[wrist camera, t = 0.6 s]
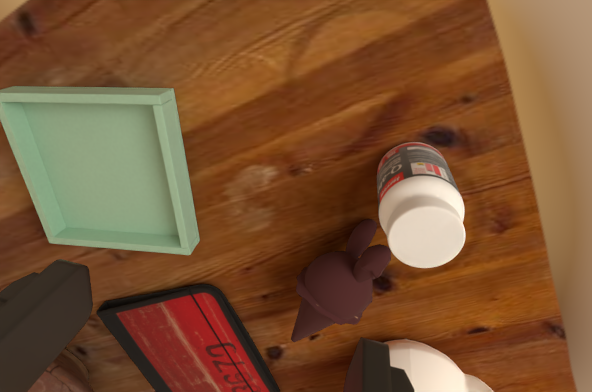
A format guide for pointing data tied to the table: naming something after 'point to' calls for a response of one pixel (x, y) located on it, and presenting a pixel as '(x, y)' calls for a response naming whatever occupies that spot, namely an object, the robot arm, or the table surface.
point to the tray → (103, 165)
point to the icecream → (340, 283)
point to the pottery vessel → (63, 376)
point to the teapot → (431, 369)
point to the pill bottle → (420, 206)
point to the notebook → (188, 341)
